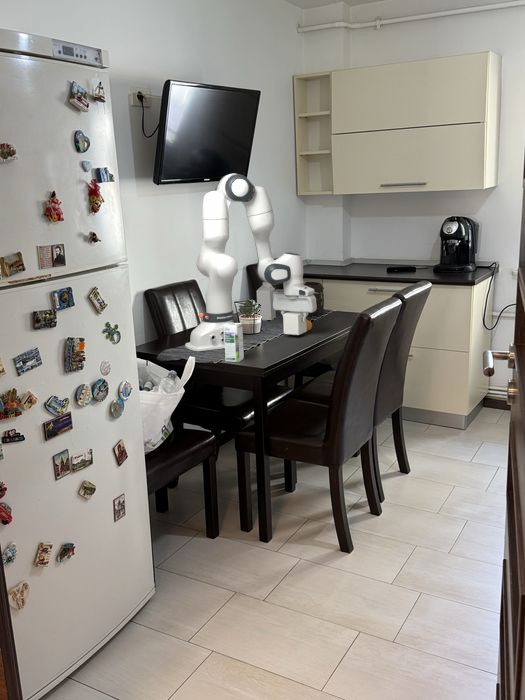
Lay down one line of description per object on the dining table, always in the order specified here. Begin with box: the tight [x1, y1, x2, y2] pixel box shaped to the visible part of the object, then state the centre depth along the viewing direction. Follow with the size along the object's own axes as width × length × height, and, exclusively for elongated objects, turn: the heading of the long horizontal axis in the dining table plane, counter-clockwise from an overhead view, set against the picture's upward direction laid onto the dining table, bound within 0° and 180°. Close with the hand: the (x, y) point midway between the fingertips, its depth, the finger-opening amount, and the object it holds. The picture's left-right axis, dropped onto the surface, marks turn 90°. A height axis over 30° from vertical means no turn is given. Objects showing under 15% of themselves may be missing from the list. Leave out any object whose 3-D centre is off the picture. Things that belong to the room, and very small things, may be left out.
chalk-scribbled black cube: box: [304, 281, 325, 318], centre depth 343 cm, size 18×18×16 cm
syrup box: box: [224, 322, 245, 363], centre depth 262 cm, size 6×6×14 cm
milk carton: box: [256, 281, 277, 321], centre depth 335 cm, size 7×7×19 cm
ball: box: [306, 319, 313, 332], centre depth 308 cm, size 5×5×5 cm
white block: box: [282, 311, 308, 336], centre depth 298 cm, size 7×7×9 cm
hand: (294, 321), depth 298 cm, fingers closed on white block, 7 cm apart
